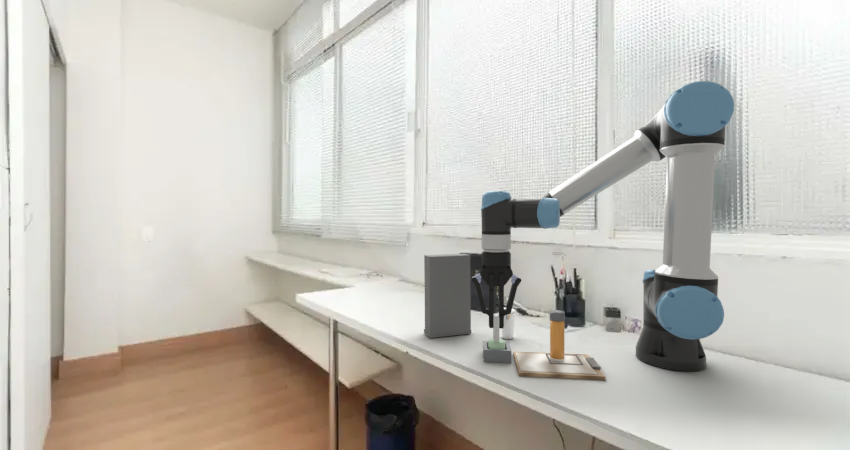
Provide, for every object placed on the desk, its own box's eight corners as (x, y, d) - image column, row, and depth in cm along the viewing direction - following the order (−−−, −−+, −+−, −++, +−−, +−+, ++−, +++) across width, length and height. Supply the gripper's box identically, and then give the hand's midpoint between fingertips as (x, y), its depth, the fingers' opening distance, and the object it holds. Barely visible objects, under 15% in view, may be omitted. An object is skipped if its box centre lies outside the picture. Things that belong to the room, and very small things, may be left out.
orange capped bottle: (563, 357, 98) (563, 310, 98) (566, 362, 94) (566, 313, 94) (548, 356, 98) (548, 309, 98) (551, 361, 95) (551, 313, 95)
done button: (504, 353, 103) (504, 338, 102) (505, 359, 98) (505, 344, 98) (488, 352, 103) (487, 338, 103) (488, 358, 99) (488, 343, 99)
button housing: (509, 353, 104) (509, 342, 104) (511, 362, 97) (511, 351, 97) (483, 352, 105) (483, 341, 105) (483, 361, 98) (483, 349, 98)
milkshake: (518, 340, 114) (518, 307, 114) (500, 339, 115) (499, 306, 115) (517, 335, 119) (517, 303, 118) (500, 334, 120) (499, 303, 119)
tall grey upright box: (463, 328, 127) (462, 253, 126) (471, 334, 121) (470, 255, 120) (423, 333, 122) (423, 255, 122) (429, 339, 116) (429, 256, 116)
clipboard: (588, 357, 100) (588, 352, 100) (606, 380, 86) (606, 373, 86) (513, 354, 102) (513, 349, 102) (518, 375, 89) (518, 370, 89)
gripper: (520, 249, 103) (520, 336, 103) (471, 249, 105) (471, 334, 105) (523, 252, 96) (523, 346, 96) (470, 251, 97) (471, 343, 98)
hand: (496, 340), depth 101 cm, fingers closed
